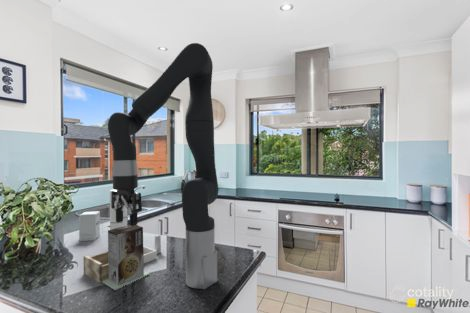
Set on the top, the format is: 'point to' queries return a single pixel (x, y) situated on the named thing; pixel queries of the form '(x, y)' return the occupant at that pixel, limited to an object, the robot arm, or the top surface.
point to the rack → (97, 266)
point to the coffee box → (125, 253)
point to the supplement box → (89, 226)
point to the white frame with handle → (150, 253)
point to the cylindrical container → (113, 216)
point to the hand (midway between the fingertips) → (126, 223)
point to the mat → (115, 286)
